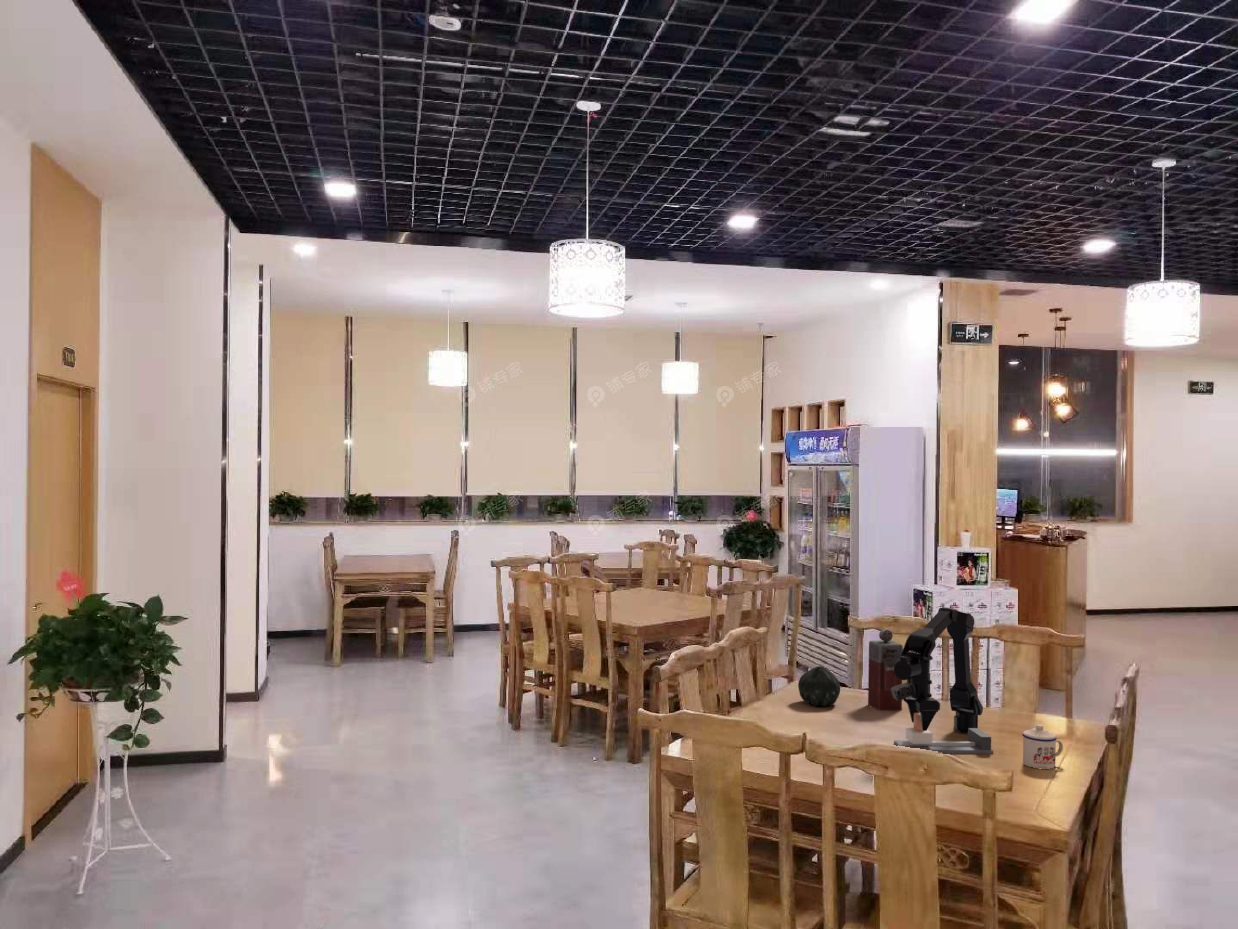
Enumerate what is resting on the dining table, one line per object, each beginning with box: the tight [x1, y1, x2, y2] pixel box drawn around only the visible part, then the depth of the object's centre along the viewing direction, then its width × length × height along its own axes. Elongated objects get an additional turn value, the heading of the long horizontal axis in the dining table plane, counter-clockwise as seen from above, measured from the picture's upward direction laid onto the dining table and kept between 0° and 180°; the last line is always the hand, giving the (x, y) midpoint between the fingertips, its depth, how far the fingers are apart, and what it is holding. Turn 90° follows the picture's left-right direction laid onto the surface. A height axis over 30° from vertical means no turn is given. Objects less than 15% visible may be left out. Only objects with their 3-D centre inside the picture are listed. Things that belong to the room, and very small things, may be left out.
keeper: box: [905, 713, 933, 744], centre depth 290 cm, size 6×6×8 cm
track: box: [893, 727, 994, 755], centre depth 290 cm, size 27×10×5 cm, turn 92°
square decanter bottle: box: [867, 628, 904, 712], centre depth 340 cm, size 9×11×28 cm
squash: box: [797, 665, 841, 707], centre depth 344 cm, size 14×15×15 cm
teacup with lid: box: [1021, 724, 1064, 770], centre depth 275 cm, size 12×9×12 cm
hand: (919, 726), depth 290 cm, fingers open, 9 cm apart
